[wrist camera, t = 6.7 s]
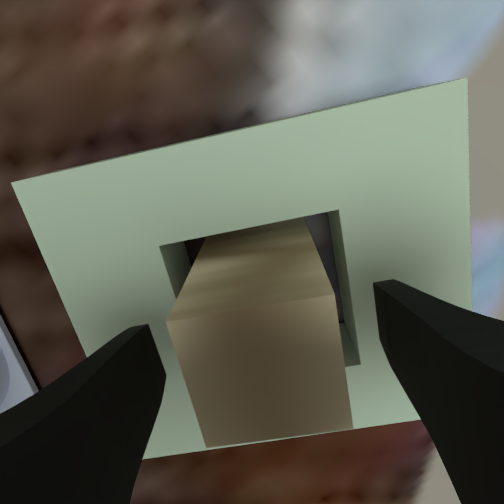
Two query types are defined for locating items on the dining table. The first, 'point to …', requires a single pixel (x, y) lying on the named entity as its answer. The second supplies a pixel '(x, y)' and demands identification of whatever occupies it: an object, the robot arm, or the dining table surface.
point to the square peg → (261, 337)
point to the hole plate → (264, 212)
